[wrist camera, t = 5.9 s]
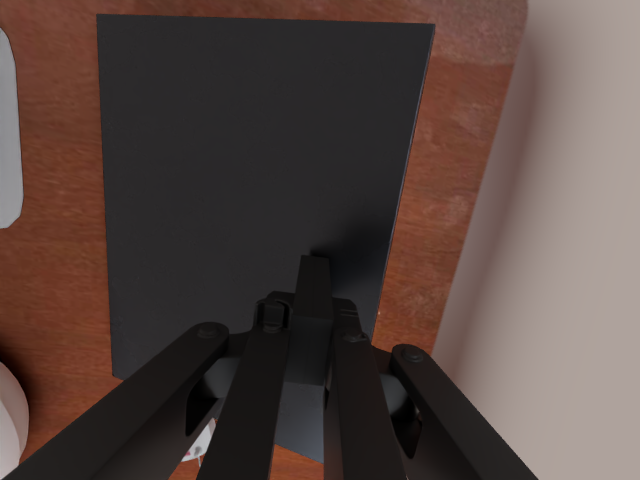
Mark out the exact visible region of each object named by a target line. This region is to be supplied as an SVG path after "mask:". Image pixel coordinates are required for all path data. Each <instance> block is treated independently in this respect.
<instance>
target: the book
mask: <svg viewBox="0 0 640 480" xmlns="http://www.w3.org/2000/svg"><path fill="white" fill-rule="evenodd" d="M23 198H24V193H23V177H22V162H21V146H20V130H19V114H18V98H17V82H16V66H15V61H14V57H13V54H12V50H11V46H10V42H9V39H8V37H7V36H6V34H5V33H4V32H3V30H2V29H1V28H0V228H8V227H9V226H10V225H11V224H12V223H13V222H14V221H15V220H16V219H17V218H18V217H19V216H20V214H21V209H22V203H23Z"/></svg>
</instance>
